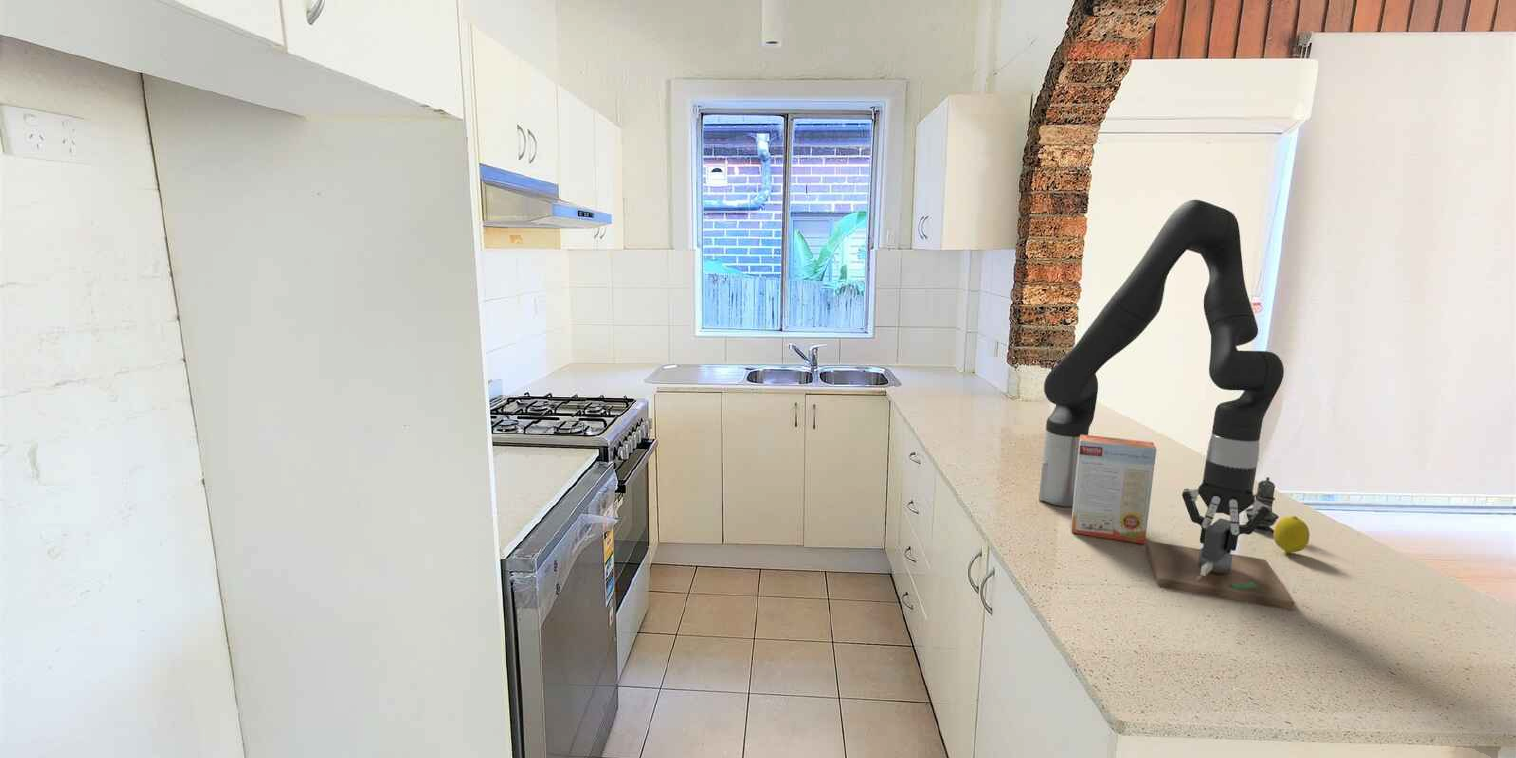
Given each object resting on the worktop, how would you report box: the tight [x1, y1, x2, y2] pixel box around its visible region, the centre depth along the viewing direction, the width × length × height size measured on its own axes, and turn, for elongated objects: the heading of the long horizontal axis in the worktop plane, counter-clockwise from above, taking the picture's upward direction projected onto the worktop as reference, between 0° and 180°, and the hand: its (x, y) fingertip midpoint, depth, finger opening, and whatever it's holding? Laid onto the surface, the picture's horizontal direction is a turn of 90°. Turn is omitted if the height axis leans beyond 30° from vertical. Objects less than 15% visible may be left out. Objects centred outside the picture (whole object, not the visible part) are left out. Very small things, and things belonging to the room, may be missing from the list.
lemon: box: [1273, 515, 1310, 555], centre depth 132 cm, size 6×6×8 cm
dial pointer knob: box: [1198, 517, 1233, 576], centre depth 122 cm, size 10×5×8 cm, turn 130°
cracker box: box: [1070, 434, 1157, 545], centre depth 140 cm, size 14×6×21 cm, turn 65°
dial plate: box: [1145, 540, 1295, 611], centre depth 124 cm, size 20×17×2 cm
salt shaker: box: [1244, 476, 1279, 535], centre depth 144 cm, size 6×6×12 cm
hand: (1217, 548), depth 123 cm, fingers closed on dial pointer knob, 3 cm apart
